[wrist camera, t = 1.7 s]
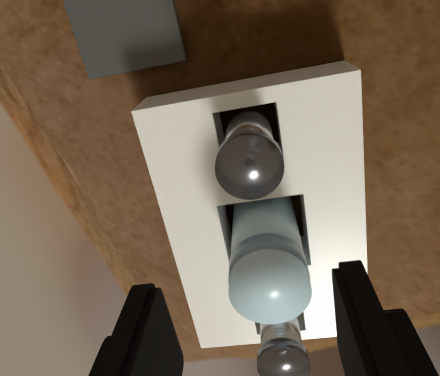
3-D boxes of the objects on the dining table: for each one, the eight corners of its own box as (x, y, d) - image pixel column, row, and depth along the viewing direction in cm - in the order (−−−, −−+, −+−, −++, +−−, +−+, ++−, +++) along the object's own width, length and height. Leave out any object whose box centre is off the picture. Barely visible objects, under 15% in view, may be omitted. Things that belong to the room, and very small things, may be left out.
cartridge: (228, 186, 30) (220, 264, 21) (290, 177, 30) (308, 254, 21) (238, 237, 32) (235, 328, 23) (296, 230, 32) (316, 320, 23)
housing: (146, 97, 27) (131, 111, 24) (344, 60, 25) (360, 69, 22) (205, 314, 36) (201, 348, 33) (356, 299, 34) (369, 333, 31)
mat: (55, -33, 24) (51, -34, 24) (161, -59, 23) (159, -60, 23) (92, 78, 27) (89, 79, 27) (187, 59, 26) (185, 60, 26)
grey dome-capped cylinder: (216, 111, 25) (208, 142, 19) (272, 101, 24) (279, 130, 19) (227, 162, 26) (221, 204, 21) (279, 154, 26) (288, 194, 20)
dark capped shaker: (252, 290, 31) (253, 351, 25) (297, 286, 30) (307, 347, 25) (259, 323, 32) (261, 387, 27) (301, 319, 32) (312, 384, 26)
